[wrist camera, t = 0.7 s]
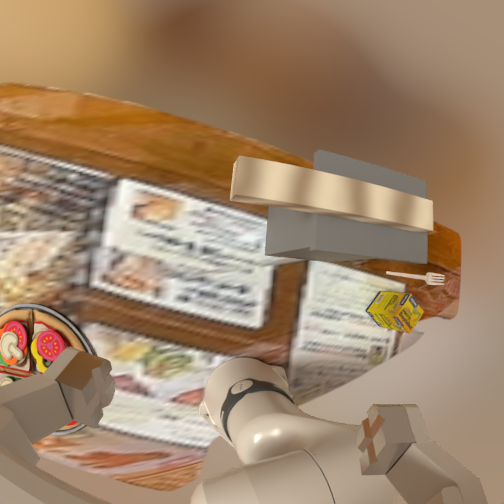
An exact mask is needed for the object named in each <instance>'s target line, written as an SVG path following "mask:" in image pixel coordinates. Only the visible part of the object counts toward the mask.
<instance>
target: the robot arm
mask: <svg viewBox="0 0 504 504" xmlns="http://www.w3.org/2000/svg"><path fill="white" fill-rule="evenodd" d="M111 370H112V367H111V363H110V361H108V360H106V359H104V358H101V357H98V356H95V355H92V354H90V353H87V352H84V351H81V350H78V349H76V348H73V347H71V346H70V347H67V348H66V349H65V350H64V351H63V352H62V353H61V354H60V355H59V356H58V357H57V359H56V360H55V361H54V362H53V363H52V364H51V365H50V366H49V368H48V369H47V370H46V371H45V372H44V373H43V374H39V373H38V374H36V375H33V376H30V377H27V378H24V379H21V380H18V381H15V382H12V383H9V384H6V385H3V386H0V504H113V503H111V502H108V501H106V500H103V499H101V498H98V497H96V496H94V495H92V494H89V493H87V492H85V491H83V490H80V489H78V488H76V487H74V486H72V485H70V484H68V483H66V482H64V481H62V480H60V479H58V478H56V477H54V476H53V475H51V474H49V473H47V472H45V471H43V470H41V469H40V468H38V467H37V466H36V464H37V463H38V461H39V459H40V457H39V454H38V452H37V451H36V449H35V448H34V446H33V445H32V444H34V443H36V442H37V441H39V440H41V439H43V438H45V437H46V436H48V435H50V434H52V433H54V432H55V431H57V430H59V429H61V428H62V427H64V426H66V425H68V424H69V423H71V422H73V420H74V421H77V422H79V423H82V424H84V425H87V426H90V427H92V428H96V426H97V424H98V423H99V421H100V419H101V418H102V416H103V410H102V408H104V407H106V406H108V405H109V404H110V403H111V401H112V399H113V396H114V392H115V382H114V379H113V377H112V376H111V375H110V374H109V373H110V371H111ZM281 376H282V377H281ZM292 398H293V394H292V392H291V391H290V390H289V385H288V381H287V377H286V372H285V370H284V369H283V367H281V366H275V365H267V364H265V363H263V362H261V361H259V360H256V359H253V358H245V357H244V358H235V359H232V360H229V361H227V362H225V363H223V364H221V365H220V366H219V367H217V368H216V369H215V370H214V371H213V373H212V374H211V375H210V377H209V379H208V381H207V384H206V388H205V395H204V398H203V400H202V402H201V403H200V405H199V407H198V412H199V413H200V415H201V416H202V417H203V418H204V419H205V420H206V421H207V422H208V423H209V424H210V425H211V426H212V427H213V428H214V429H215V430H216V431H217V432H218V433H219V434H220V435H221V436H222V437H223V438H224V439H225V440H226V441H227V442H228V443H229V444H230V445H231V446H232V447H233V448H234V449H235V450H236V452H237V454H238V456H239V458H240V460H241V461H242V462H243V463H244V464H243V465H239V466H237V467H234V468H232V469H229V470H226V471H224V472H221V473H218V474H216V475H214V476H211V477H208V478H206V479H203V480H201V481H200V483H199V484H198V485H197V487H196V488H195V490H194V492H193V494H192V497H191V501H190V504H391V503H393V502H394V501H395V500H397V499H398V498H399V497H400V496H402V497H403V498H404V500H405V501H406V502H407V503H408V504H488V503H487V500H486V497H485V494H484V491H483V488H482V485H481V482H480V479H479V478H478V477H477V476H475V475H474V474H473V473H472V472H471V471H469V470H468V469H467V468H466V467H465V466H463V465H462V464H461V463H460V462H459V461H457V460H456V459H455V458H454V457H453V456H451V455H450V454H449V453H448V452H447V451H445V450H444V449H443V448H442V447H441V446H439V445H438V444H437V443H436V442H435V441H430V438H429V435H428V432H427V430H426V427H425V424H424V421H423V418H422V416H421V413H420V410H419V408H418V406H417V405H416V404H407V405H406V404H405V405H404V404H403V405H399V404H398V405H377V404H376V405H375V404H374V405H372V406H371V407H370V408H369V410H368V412H367V414H368V418H367V419H365V420H364V421H362V423H361V425H351V424H344V423H337V422H332V421H328V420H324V419H320V418H316V417H313V416H310V415H308V414H306V413H304V412H303V411H301V410H300V409H299V408H298V406H297V404H296V403H294V402H293V400H292ZM207 413H208V414H209V415H206V414H207ZM502 504H504V503H502Z"/></svg>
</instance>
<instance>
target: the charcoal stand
mask: <svg viewBox="0 0 504 504" xmlns="http://www.w3.org/2000/svg"><path fill="white" fill-rule="evenodd" d="M314 170H317V171H322V172H326V173H331V174H335V175H339V176H343V177H348V178H352V179H356V180H360V181H364V182H368V183H371V184H375V185H379V186H383V187H386V188H390V189H394V190H397V191H401V192H404V193H408V194H411V195H414V196H418V197H421V198H424V199H427V191H426V181H424V180H421V179H418V178H415V177H412V176H409V175H406V174H403V173H400V172H397V171H394V170H391V169H387V168H384V167H381V166H378V165H374V164H371V163H368V162H364V161H361V160H357V159H354V158H350V157H346V156H342V155H339V154H334V153H331V152H327V151H323V150H318V151H317V152H316V153H314ZM427 250H428V232H423V233H417V232H412V231H408V230H403V229H398V228H393V227H388V226H382V225H377V224H372V223H367V222H361V221H356V220H350V219H345V218H339V217H333V216H327V215H321V214H316V213H309V212H303V211H297V210H291V209H284V208H278V207H271V206H269V209H268V222H267V234H266V247H265V255H267V256H277V257H287V258H296V259H306V260H315V261H325V262H337V261H350V260H363V259H384V260H392V261H400V262H408V263H416V264H427Z"/></svg>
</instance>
